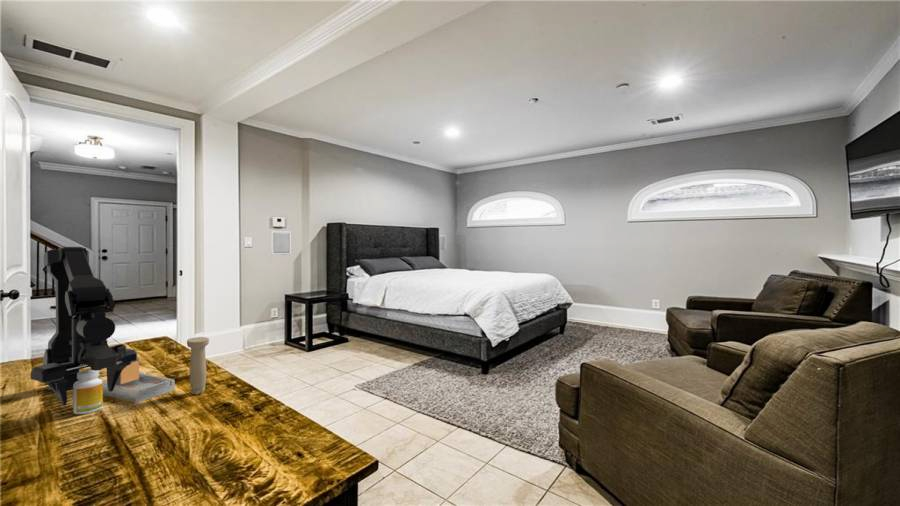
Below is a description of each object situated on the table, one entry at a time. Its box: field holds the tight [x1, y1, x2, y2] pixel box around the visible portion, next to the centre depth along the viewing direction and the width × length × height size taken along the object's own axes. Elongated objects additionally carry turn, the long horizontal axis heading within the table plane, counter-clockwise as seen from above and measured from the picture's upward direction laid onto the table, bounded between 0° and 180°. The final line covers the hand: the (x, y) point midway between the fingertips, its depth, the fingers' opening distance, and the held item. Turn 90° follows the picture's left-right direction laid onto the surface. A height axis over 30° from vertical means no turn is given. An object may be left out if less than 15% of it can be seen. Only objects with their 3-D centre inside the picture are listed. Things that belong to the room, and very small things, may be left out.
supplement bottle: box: [72, 368, 104, 415], centre depth 94 cm, size 5×5×10 cm
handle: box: [186, 336, 210, 395], centre depth 106 cm, size 5×6×15 cm
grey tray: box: [103, 357, 176, 404], centre depth 106 cm, size 16×10×8 cm, turn 69°
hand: (88, 397), depth 95 cm, fingers open, 9 cm apart
